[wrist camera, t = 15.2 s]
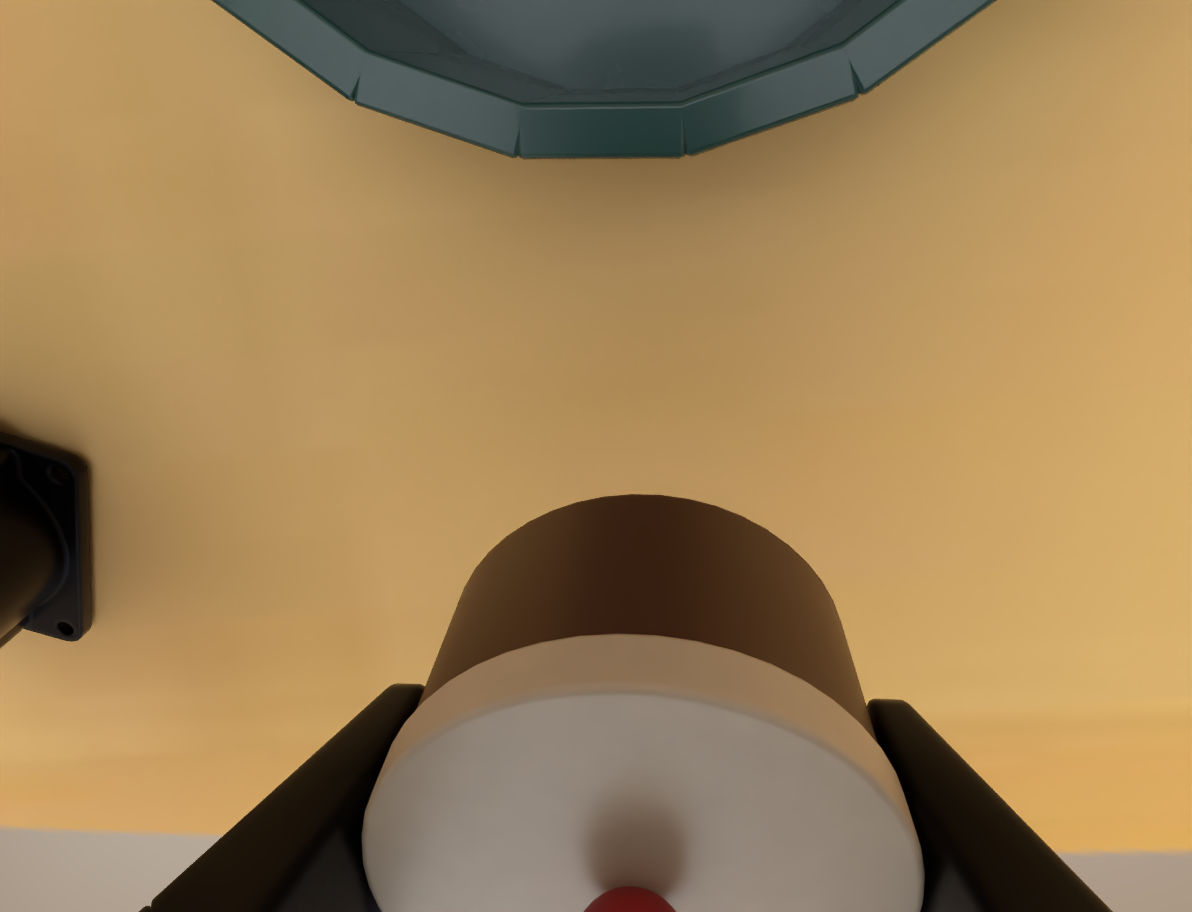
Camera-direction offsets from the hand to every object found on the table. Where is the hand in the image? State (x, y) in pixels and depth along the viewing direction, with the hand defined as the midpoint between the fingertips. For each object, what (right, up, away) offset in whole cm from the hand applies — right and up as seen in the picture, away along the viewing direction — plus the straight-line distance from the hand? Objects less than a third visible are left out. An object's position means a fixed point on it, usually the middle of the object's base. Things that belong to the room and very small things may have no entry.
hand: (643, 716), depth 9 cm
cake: (0, 0, +1) cm, 1 cm away
